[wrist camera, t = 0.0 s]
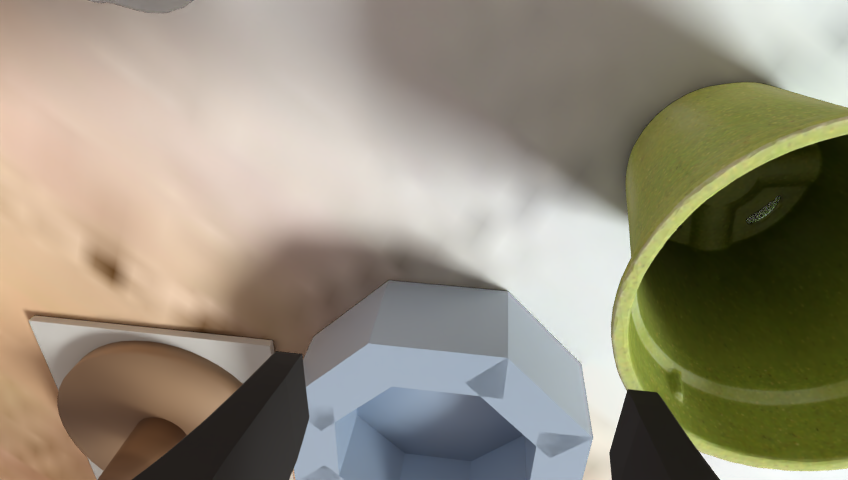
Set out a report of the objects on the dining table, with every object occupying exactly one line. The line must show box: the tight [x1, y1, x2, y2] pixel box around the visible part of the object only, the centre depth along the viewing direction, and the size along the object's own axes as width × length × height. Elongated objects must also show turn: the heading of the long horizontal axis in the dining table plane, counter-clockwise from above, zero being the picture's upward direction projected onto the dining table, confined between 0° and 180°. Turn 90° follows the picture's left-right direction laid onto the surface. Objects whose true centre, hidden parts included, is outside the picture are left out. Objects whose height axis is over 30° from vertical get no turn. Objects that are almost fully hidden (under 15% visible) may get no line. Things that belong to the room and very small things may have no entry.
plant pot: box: [611, 82, 848, 471], centre depth 16 cm, size 9×9×9 cm
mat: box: [29, 315, 294, 480], centre depth 30 cm, size 12×12×1 cm
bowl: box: [294, 280, 593, 480], centre depth 25 cm, size 12×12×4 cm
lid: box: [58, 340, 243, 480], centre depth 27 cm, size 11×11×6 cm
